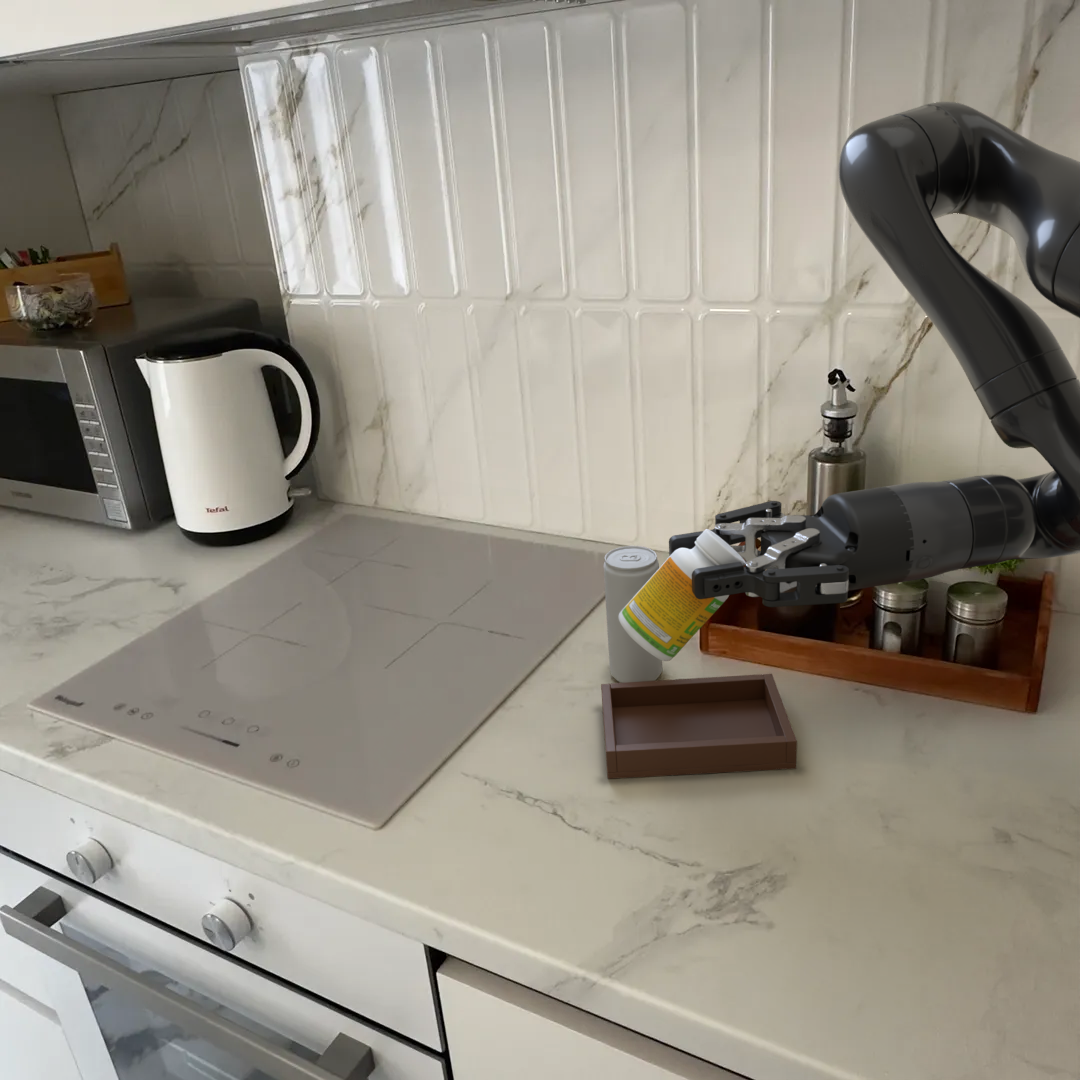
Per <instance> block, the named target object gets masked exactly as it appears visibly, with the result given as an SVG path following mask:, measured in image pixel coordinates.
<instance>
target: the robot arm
mask: <svg viewBox="0 0 1080 1080" xmlns="http://www.w3.org/2000/svg"><path fill="white" fill-rule="evenodd" d="M935 102H936V103H934V102H930V103H926V104H923V105H920V106H917V107H914V108H911V109H907V110H903V111H901V112H898V113H895V114H892V115H888V116H885V117H882V118H879V119H876V120H873V121H870V122H868V123H865V124H863V125H862V126H859V127H858V128H856V129H855V130H854V131H853V132H851V133H850V134H849V136H848V137H847V139H846V140H845V141H844V144H843V146H842V148H841V151H840V155H839V161H838V170H837V171H838V182H839V186H840V191H841V195H842V197H843V199H844V201H845V204H846V207H847V208H848V210H849V211H848V212H850V214H851V216H852V218H853V220H854V221H855V222H856V225H858V227H859V229H860V230H861V231H862V233H863V234H864V236H865V237H866V238H867V240H868V241H869V242H870V243H871V245H872V246H873V248H874V249H875V251H876V252H877V253H878V254H879V255H880V257H881V258H882V259H883V261H884V262H885V263H886V264H887V266H888V267H889V268H890V270H891V271H892V273H893V274H894V275H895V277H896V278H897V279H898V281H899V282H900V283H901V284H902V285H903V287H904V288H905V289H906V291H907V292H908V294H910V296H911V297H912V298H913V299H914V301H915V302H916V303H917V305H918V306H919V307H920V309H921V310H922V311H923V312H924V314H925V315H926V317H928V318H929V321H930V322H931V323H932V324H933V326H934V327H935V328H936V329H937V331H938V333H939V334H940V335H941V337H942V338H943V339H944V341H945V342H946V344H947V345H948V347H949V348H950V350H951V351H952V353H953V355H954V357H955V359H956V360H957V361H958V363H959V365H960V366H961V368H962V370H963V372H964V374H965V375H966V377H967V380H968V381H969V383H970V386H971V388H972V389H973V391H974V393H975V395H976V397H977V398H978V400H979V403H980V404H981V406H982V408H983V411H984V412H985V414H986V416H987V418H988V419H989V420H990V424H991V426H992V427H993V429H994V431H995V432H996V434H997V435H998V437H999V439H1000V440H1001V441H1002V442H1003V443H1004V444H1005V445H1006V446H1008V447H1009V448H1012V449H1027V448H1033V449H1034V450H1036V451H1037V452H1038V453H1039V454H1040V455H1041V457H1043V459H1044V460H1045V461H1046V462H1047V464H1048V465H1049V466H1050V467H1051V468H1052V471H1049V472H1046V473H1042V474H1039V475H1035V476H1029V477H1025V478H1018V479H1015V478H1013V477H1011V476H1009V475H1004V474H981V475H973V476H967V477H961V478H955V479H953V478H951V479H946V480H940V481H913V482H905V483H899V484H892V485H887V486H877V487H872V488H871V487H870V488H865V489H860V490H859V489H858V490H852V491H845V492H838V493H833V494H831V495H829V496H827V497H826V498H825V499H824V501H823V502H822V504H821V506H820V508H819V509H818V510H817V511H816V512H815V514H805V515H804V514H787V515H786V514H784V513H783V512H782V502H781V501H778V500H769V501H765V502H762V503H758V504H753V505H749V506H745V507H741V508H738V509H733V510H729V511H724V512H721V513H717V514H715V516H714V521H715V522H714V528H713V529H710V530H711V531H712V532H714V533H715V534H716V535H718V536H719V537H720V538H721V539H723V540H724V541H725V542H726V543H727V544H729V545H730V546H731V547H732V548H733V549H734V550H735V551H736V552H737V553H738V554H739V555H740V556H741V557H742V558H743V559H744V560H745V562H746V564H745V565H743V564H742V563H741V562H735V563H729V564H723V565H716V566H710V567H704V568H698V569H695V570H694V571H693V572H692V592H693V594H694V595H695V597H696V598H697V599H706V598H713V597H719V596H725V595H729V596H731V595H737V594H743V593H745V595H746V596H747V597H750V598H758V597H760V598H762V605H763V606H764V607H767V608H779V607H782V608H783V607H797V606H798V607H799V606H813V605H828V604H829V605H831V604H832V605H833V604H843V603H846V602H847V601H848V593H849V591H855V590H863V589H868V588H874V587H879V586H887V585H893V584H899V583H906V582H912V581H917V580H923V579H930V578H933V577H937V576H940V575H942V574H946V573H949V572H953V571H958V570H963V569H970V568H975V567H982V566H987V565H994V564H999V563H1003V562H1007V561H1011V560H1032V559H1035V560H1036V559H1037V560H1038V559H1050V558H1058V557H1064V556H1065V557H1067V556H1071V555H1077V554H1080V379H1078V376H1077V374H1076V372H1075V370H1074V369H1073V367H1072V364H1071V363H1070V361H1069V359H1068V357H1067V356H1066V354H1065V352H1064V350H1063V349H1062V346H1061V345H1060V343H1059V342H1058V339H1057V338H1056V336H1055V334H1054V333H1053V332H1052V329H1050V327H1049V326H1048V325H1047V324H1046V322H1045V320H1044V319H1043V318H1042V317H1041V316H1040V315H1039V314H1038V313H1037V312H1036V311H1035V310H1034V309H1033V308H1032V307H1031V306H1029V305H1028V304H1027V303H1026V302H1024V301H1023V300H1022V299H1020V297H1018V296H1016V295H1014V294H1013V292H1010V291H1009V290H1008V289H1006V288H1005V287H1003V286H1002V285H1000V284H999V283H997V282H996V281H995V280H993V279H992V278H990V277H989V276H987V275H986V274H985V273H984V272H982V271H981V270H980V269H978V268H977V267H975V266H974V265H973V264H972V263H971V262H970V261H968V259H966V258H965V257H964V256H963V255H962V254H961V253H960V252H958V250H957V249H956V248H955V247H954V246H953V245H952V243H951V242H950V241H949V239H948V238H946V236H945V234H944V233H943V232H942V230H941V228H940V227H939V225H938V224H937V222H936V220H935V219H938V218H942V217H944V216H948V215H954V214H953V213H957V214H956V215H966V216H968V217H972V218H975V219H978V220H979V221H983V222H984V223H987V224H989V225H991V226H993V227H995V228H997V229H999V230H1001V231H1003V232H1004V233H1006V234H1008V235H1009V236H1010V237H1011V238H1012V239H1013V241H1014V243H1015V246H1016V250H1017V253H1018V255H1019V259H1020V261H1021V264H1022V266H1023V268H1024V271H1025V273H1026V276H1027V277H1028V279H1029V280H1030V282H1031V284H1032V285H1033V287H1034V289H1035V290H1036V291H1037V292H1038V293H1039V294H1040V296H1042V297H1044V298H1045V299H1046V300H1048V301H1049V302H1050V303H1052V304H1053V305H1055V306H1056V307H1058V308H1060V309H1061V310H1063V311H1064V312H1067V313H1069V314H1070V315H1072V316H1075V317H1076V318H1078V319H1080V161H1079V160H1076V159H1074V158H1072V157H1069V156H1066V155H1063V154H1060V153H1058V152H1055V151H1053V150H1050V149H1048V148H1046V147H1044V146H1041V145H1039V144H1037V143H1036V142H1034V141H1032V140H1030V139H1029V138H1027V137H1025V136H1023V135H1021V134H1020V133H1018V132H1016V131H1014V130H1013V129H1011V128H1010V127H1008V126H1006V125H1004V124H1002V123H1001V122H999V121H997V120H996V119H994V118H993V117H990V116H989V115H988V114H985V113H983V112H982V111H979V110H978V109H976V108H974V107H971V106H969V105H967V104H964V103H961V102H957V101H935ZM956 102H957V103H956ZM958 213H959V214H958ZM703 531H704V530H701V531H695V532H694V531H693V532H688V533H681V534H673V535H672V536H670V538H669V539H668V557H669V556H670V555H671V554H672V553H673V552H674V551H675V550H677V549H679V548H688V549H692V548H694V546H695V541H696V540H697V538H698V537H699V536H700V535H701V534H702V533H703ZM757 539H760V549H758V548H757V546H756V540H757ZM740 543H745V544H743V545H737V544H740ZM794 588H795V590H794V591H788V590H791V589H794ZM786 591H787V592H786Z"/></svg>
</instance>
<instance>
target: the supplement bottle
mask: <svg viewBox="0 0 1080 1080" xmlns="http://www.w3.org/2000/svg"><path fill="white" fill-rule="evenodd" d="M711 530H712V529H708V528H705V529H704V530H702V531H703V533H702V534H701V535H700V536H699V537H698V538H697V540H696V541H695V546H694V548H692V549H688V548H679V549H677V550H675V551H674V552H673V553H672V554H671V555H670V556H669V555H668V557H667V558H666V559H665V561H663V563H662V564H661V565H660V566H659V569H658V570H657V571H656V572H655V573H654V574H653V576H652V577H651V578H650V579H649V580H648V581H647V582H646V583H645V585H644V586H643V587H642V588H641V589H640V590H639V591H638V592H637V594H636V595H635V596H634V597H633V598H632V599H631V600H630V601H629V603H628V604H627V605H626V606H625V607H624V608H623V609H622V611H621V612H620V613H619V621H620V623H621V625H622V627H623V628H624V629H625V631H626V632H627V633H628V634H629V636H630V637H631V638H632V639H633V640H634V641H635V642H636V643H638V644H639V645H640V646H641V647H642V648H644V649H645V650H646V651H647V652H649V653H650V654H652V655H653V656H655V657H656V658H658V659H660V660H662V662H670V661H672V659H674V658H675V657H676V656H677V655H678V653H680V652H681V650H682V649H683V648H684V647H685V646H686V645H687V644H688V643H689V642H690V640H691V639H693V637H694V636H695V635H696V634H697V633H698V632H699V630H700V629H701V628H702V627H703V626H704V625H705V624H706V623H707V622H708V620H710V618H711V617H712V616H713V615H714V614H715V613H716V612H717V611H718V610H719V608H720V607H721V606H722V605H723V604H724V603H725V602H726V601H727V600H728V598H729V596H730V595H725V596H719V597H713V598H706V599H697V598H696V597H695V595H694V594H693V592H692V572H693V571H694V570H695V569H698V568H704V567H710V566H716V565H723V564H729V563H735V562H741V563H742V564H743V565H744V566H746V560H745V559H744V558H742V557H741V556H740V555H739V554H738V553H737V552H736V551H735V550H734V549H733V548H732V547H731V546H730V545H729V544H727V543H726V542H725V541H724V540H723V539H721V538H720V537H719V536H718V535H716V534H715V533H714V532H712V531H711Z"/></svg>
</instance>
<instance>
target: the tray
mask: <svg viewBox="0 0 1080 1080" xmlns="http://www.w3.org/2000/svg"><path fill="white" fill-rule="evenodd" d="M600 690H601V691H600V693H601V705H602V707H601V708H602V720H603V734H604V747H605V748H604V749H605V761H606V762H605V763H606V773H607V774H606V775H607V777H606V778H607V779H608V780H609V779H611V780H612V779H629V778H630V779H631V778H646V777H648V778H649V777H665V776H683V775H684V776H685V775H699V774H700V775H701V774H702V775H704V774H718V773H720V774H722V773H738V772H756V771H759V772H760V771H775V770H793V769H797V752H798V751H797V750H798V740H797V737H796V734H795V732H794V730H793V727H792V724H791V721H790V718H789V716H788V713H787V711H786V708H785V705H784V702H783V700H782V697H781V694H780V691H779V688H778V686H777V683H776V680H775V678H774V675H773V673H762V674H748V675H747V674H745V675H728V676H726V675H725V676H712V677H693V678H678V679H661V680H659V679H658V680H655V681H641V682H625V683H620V682H611V683H601V684H600Z"/></svg>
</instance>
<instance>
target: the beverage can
mask: <svg viewBox="0 0 1080 1080" xmlns="http://www.w3.org/2000/svg"><path fill="white" fill-rule="evenodd" d="M659 568H660V564H659V559H658V554H657V553H656V551H655V550H653V549H651V548H649V547H646V546H641V545H625V546H618V547H616V548H613V549H611V550H609V551H608V552H607V553H605V555H604V562H603V579H604V594H605V595H604V596H605V615H606V629H607V630H606V631H607V647H608V661H609V662H608V664H609V665H608V666H609V673H610V675H611V676H612V677H613V678H614V680H615V681H617V682H618V683H625V682H641V681H657V679H658V678H659V677H660V675H662V671H663V661H662V660H660V659H658V658H656V657H655V656H653V655H652V654H650V653H649V652H647V651H646V650H645V649H644V648H642V647H641V646H640V645H639V644H638V643H636V642H635V641H634V640H633V639H632V638H631V637H630V636H629V634H628V633H627V632H626V631H625V629H624V628H623V627H622V625H621V623H620V621H619V613H620V612H621V611H622V609H623V608H624V607H625V606H626V605H627V604H628V603H629V601H630V600H631V599H632V598H633V597H634V596H635V595H636V594H637V592H638V591H639V590H640V589H641V588H642V587H643V586H644V585H645V583H646V582H647V581H648V580H649V579H650V578H651V577H652V576H653V574H654V573H655V572H656V571H657V570H658V569H659Z"/></svg>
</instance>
